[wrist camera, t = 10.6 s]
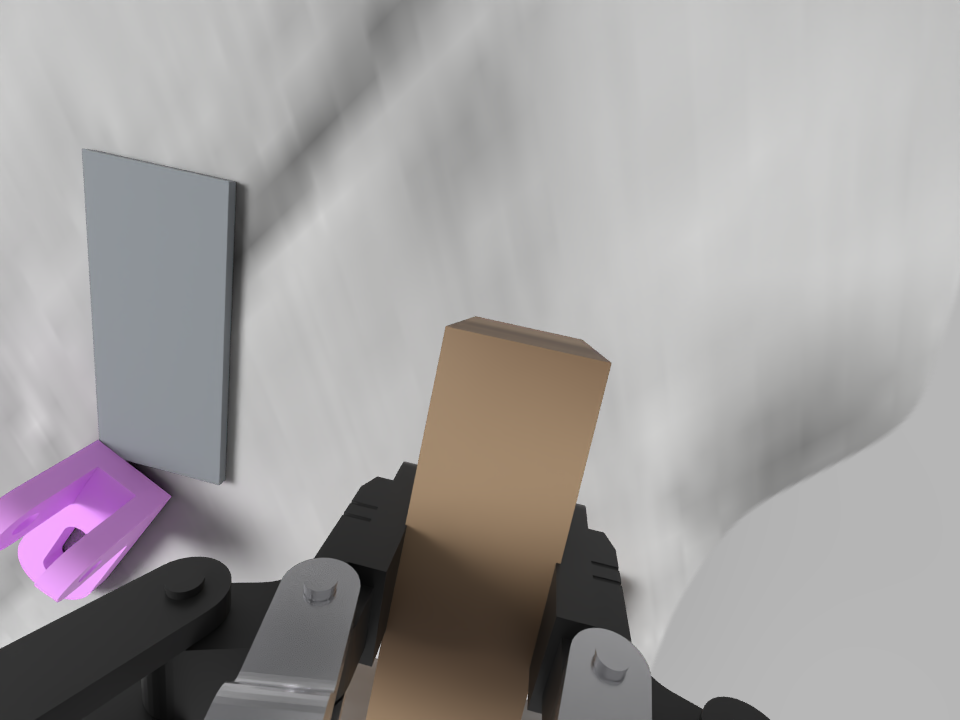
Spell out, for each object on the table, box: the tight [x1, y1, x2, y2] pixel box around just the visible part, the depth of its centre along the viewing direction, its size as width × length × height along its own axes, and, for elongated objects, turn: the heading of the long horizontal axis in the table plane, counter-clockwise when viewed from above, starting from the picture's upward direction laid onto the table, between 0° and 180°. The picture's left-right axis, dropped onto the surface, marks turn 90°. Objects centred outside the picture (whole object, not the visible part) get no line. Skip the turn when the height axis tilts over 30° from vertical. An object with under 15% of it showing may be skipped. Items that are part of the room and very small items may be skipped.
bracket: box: [0, 440, 172, 602], centre depth 31 cm, size 13×6×7 cm, turn 137°
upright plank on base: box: [340, 316, 611, 720], centre depth 12 cm, size 12×7×5 cm, turn 169°
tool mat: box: [82, 149, 236, 485], centre depth 28 cm, size 18×8×1 cm, turn 168°
